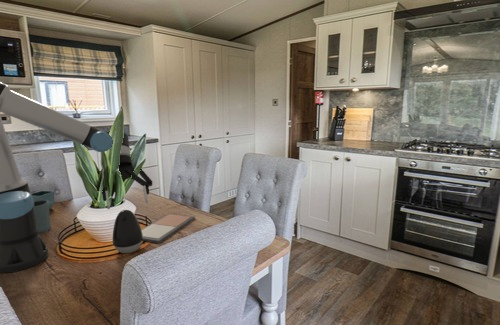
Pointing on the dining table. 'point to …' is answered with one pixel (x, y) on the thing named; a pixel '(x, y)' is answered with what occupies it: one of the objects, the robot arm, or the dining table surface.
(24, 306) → the dining table surface
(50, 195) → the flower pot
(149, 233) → the board
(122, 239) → the black rounded piece
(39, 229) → the teal cup
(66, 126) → the robot arm
